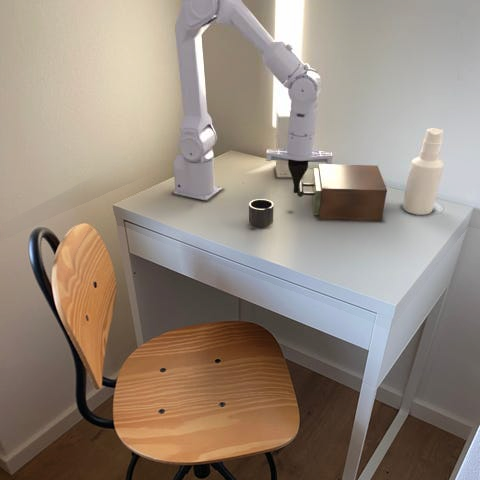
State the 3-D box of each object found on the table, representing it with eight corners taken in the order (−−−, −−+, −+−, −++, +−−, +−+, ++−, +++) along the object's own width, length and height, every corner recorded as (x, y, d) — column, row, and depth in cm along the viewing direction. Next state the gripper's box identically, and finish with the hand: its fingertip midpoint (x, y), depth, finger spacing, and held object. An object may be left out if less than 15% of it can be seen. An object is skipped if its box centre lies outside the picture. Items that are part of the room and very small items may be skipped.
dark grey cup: (272, 230, 110) (273, 209, 107) (248, 229, 111) (248, 209, 108) (272, 219, 114) (273, 199, 112) (249, 218, 115) (249, 198, 112)
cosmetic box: (300, 178, 133) (305, 116, 124) (275, 178, 133) (277, 116, 124) (297, 166, 140) (302, 107, 130) (274, 166, 140) (276, 107, 130)
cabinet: (318, 219, 114) (322, 188, 110) (316, 193, 126) (318, 164, 121) (381, 221, 114) (387, 190, 109) (372, 194, 125) (377, 165, 120)
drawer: (296, 214, 115) (298, 190, 111) (295, 190, 125) (297, 167, 122) (371, 216, 114) (375, 192, 110) (364, 192, 124) (368, 169, 121)
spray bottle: (433, 204, 120) (452, 127, 109) (431, 217, 115) (452, 137, 104) (403, 200, 122) (419, 124, 111) (400, 212, 117) (417, 133, 106)
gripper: (333, 128, 113) (326, 186, 121) (268, 125, 113) (265, 183, 122) (336, 138, 107) (327, 198, 116) (267, 135, 108) (264, 195, 116)
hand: (295, 191), depth 118 cm, fingers closed, pressing on drawer
